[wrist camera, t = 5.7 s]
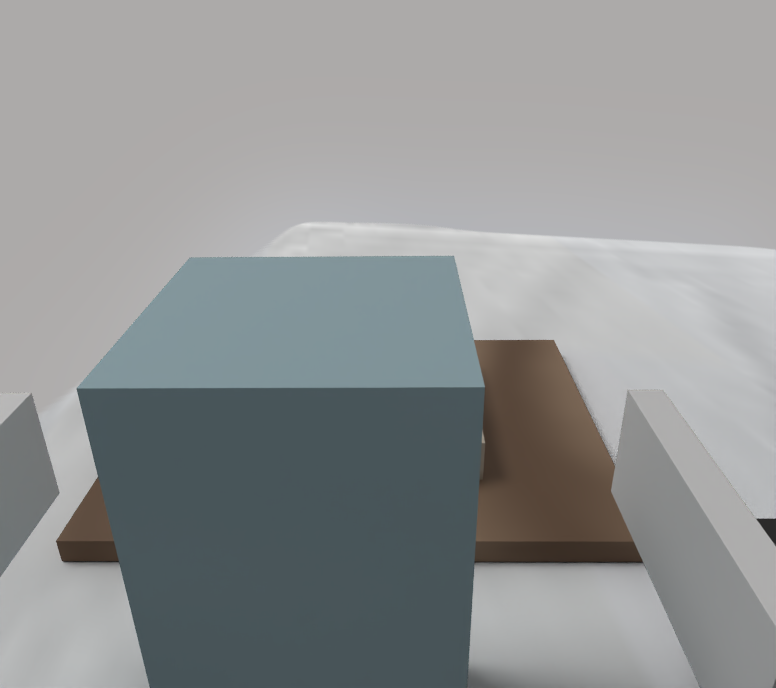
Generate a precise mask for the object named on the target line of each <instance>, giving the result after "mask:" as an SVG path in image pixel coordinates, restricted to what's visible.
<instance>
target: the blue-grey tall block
mask: <svg viewBox="0 0 776 688" xmlns="http://www.w3.org/2000/svg"><path fill="white" fill-rule="evenodd" d="M77 392H78V396H79V401H80V405H81V409H82V413H83V417H84V421H85V425H86V429H87V433H88V437H89V441H90V445H91V449H92V453H93V458H94V462H95V466H96V470H97V474H98V478H99V482H100V486H101V490H102V494H103V498H104V502H105V506H106V511H107V515H108V519H109V523H110V527H111V531H112V535H113V539H114V543H115V547H116V551H117V555H118V559H119V564H120V568H121V572H122V576H123V580H124V584H125V588H126V592H127V596H128V600H129V604H130V608H131V612H132V617H133V621H134V625H135V629H136V633H137V637H138V641H139V645H140V649H141V653H142V657H143V661H144V665H145V669H146V674H147V678H148V682H149V686H150V688H467V679H468V662H469V646H470V629H471V612H472V595H473V579H474V562H475V545H476V529H477V512H478V495H479V479H480V462H481V445H482V429H483V412H484V395H485V385H484V381H483V377H482V373H481V368H480V364H479V360H478V356H477V351H476V347H475V343H474V339H473V334H472V330H471V326H470V322H469V318H468V313H467V309H466V305H465V301H464V296H463V292H462V288H461V284H460V279H459V275H458V271H457V267H456V263H455V258H454V256H363V257H222V258H221V257H217V258H216V257H213V258H212V257H210V258H208V257H207V258H206V257H205V258H189V259H188V261H187V262H186V263H185V264H184V265H183V266H182V267H181V268H180V270H179V271H178V272H177V273H176V274H175V275H174V277H173V278H172V279H171V280H170V281H169V282H168V284H167V285H166V286H165V287H164V288H163V289H162V291H161V292H160V293H159V294H158V295H157V296H156V297H155V299H154V300H153V301H152V302H151V303H150V304H149V305H148V307H147V308H146V309H145V310H144V311H143V312H142V314H141V315H140V316H139V317H138V318H137V319H136V320H135V322H134V323H133V324H132V325H131V326H130V327H129V329H128V330H127V331H126V332H125V333H124V334H123V336H122V337H121V338H120V339H119V340H118V341H117V343H116V344H115V345H114V346H113V347H112V348H111V349H110V351H109V352H108V353H107V354H106V355H105V356H104V357H103V359H102V360H101V361H100V362H99V363H98V364H97V365H96V367H95V368H94V369H93V370H92V371H91V372H90V374H89V375H88V376H87V377H86V378H85V379H84V380H83V382H82V383H81V384H80V385H79V386H78V387H77Z"/></svg>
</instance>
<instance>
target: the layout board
mask: <svg viewBox="0 0 776 688" xmlns="http://www.w3.org/2000/svg"><path fill="white" fill-rule="evenodd" d="M474 343H475V347H476V351H477V356H478V360H479V364H480V368H481V373H482V377H483V381H484V385H485V395H484V412H483V429H482V445H481V462H480V479H479V495H478V512H477V529H476V545H475V562H643V561H642V558H641V556H640V554H639V552H638V550H637V547H636V545H635V543H634V541H633V539H632V536H631V534H630V532H629V530H628V528H627V525H626V523H625V521H624V519H623V517H622V514H621V512H620V510H619V508H618V506H617V503H616V501H615V499H614V497H613V495H612V492H611V488H612V482H613V476H614V470H615V465H614V463H613V461H612V459H611V457H610V455H609V453H608V451H607V449H606V447H605V445H604V443H603V441H602V439H601V436H600V434H599V432H598V430H597V428H596V426H595V424H594V422H593V420H592V418H591V416H590V414H589V412H588V410H587V408H586V406H585V403H584V401H583V399H582V397H581V395H580V393H579V391H578V389H577V387H576V385H575V383H574V381H573V379H572V377H571V375H570V372H569V370H568V368H567V366H566V364H565V362H564V360H563V358H562V356H561V354H560V352H559V350H558V348H557V346H556V344H555V342H554V340H474ZM56 542H57V546H58V549H59V553H60V556H61V559H62V561H119V559H118V555H117V551H116V547H115V543H114V539H113V535H112V531H111V527H110V523H109V519H108V515H107V511H106V506H105V502H104V498H103V494H102V490H101V486H100V482H99V478H97V479H96V481H95V482H94V484H93V485H92V487H91V488H90V490H89V491H88V493H87V495H86V496H85V498H84V499H83V501H82V502H81V504H80V505H79V507H78V508H77V510H76V511H75V513H74V514H73V516H72V518H71V519H70V521H69V522H68V524H67V525H66V527H65V528H64V530H63V531H62V533H61V534H60V536H59V537H58V539H57V541H56Z"/></svg>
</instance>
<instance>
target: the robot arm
mask: <svg viewBox="0 0 776 688" xmlns="http://www.w3.org/2000/svg"><path fill="white" fill-rule="evenodd" d="M611 492H612V495H613V497H614V499H615V501H616V503H617V506H618V508H619V510H620V512H621V514H622V517H623V519H624V521H625V523H626V525H627V528H628V530H629V532H630V534H631V536H632V539H633V541H634V543H635V545H636V547H637V550H638V552H639V554H640V556H641V558H642V561H643V563H644V565H645V567H646V569H647V572H648V574H649V576H650V578H651V580H652V583H653V585H654V587H655V589H656V591H657V593H658V596H659V598H660V600H661V602H662V604H663V607H664V609H665V611H666V613H667V615H668V618H669V620H670V622H671V624H672V626H673V629H674V631H675V633H676V635H677V637H678V640H679V642H680V644H681V646H682V648H683V651H684V653H685V655H686V657H687V659H688V662H689V664H690V666H691V668H692V670H693V673H694V675H695V677H696V679H697V681H698V684H699V686H700V688H776V519H756V518H755V517H754V515H753V514H752V513H751V511H750V510H749V508H748V507H747V506H746V504H745V503H744V501H743V500H742V499H741V497H740V496H739V494H738V493H737V492H736V490H735V489H734V488H733V486H732V485H731V483H730V482H729V481H728V479H727V478H726V476H725V475H724V474H723V472H722V471H721V469H720V468H719V467H718V465H717V464H716V463H715V461H714V460H713V458H712V457H711V456H710V454H709V453H708V451H707V450H706V449H705V447H704V446H703V444H702V443H701V442H700V440H699V439H698V438H697V436H696V435H695V433H694V432H693V431H692V429H691V428H690V426H689V425H688V424H687V422H686V421H685V419H684V418H683V417H682V415H681V414H680V413H679V411H678V410H677V408H676V407H675V406H674V404H673V403H672V401H671V400H670V399H669V397H668V396H667V394H666V393H665V392H664V390H628V392H627V398H626V404H625V410H624V416H623V422H622V428H621V434H620V440H619V446H618V452H617V458H616V464H615V470H614V476H613V482H612V488H611ZM58 494H59V489H58V486H57V482H56V478H55V475H54V471H53V468H52V464H51V461H50V457H49V454H48V450H47V446H46V443H45V439H44V436H43V432H42V429H41V425H40V421H39V418H38V414H37V411H36V408H35V404H34V400H33V397H32V393H0V577H1V575H2V574H3V572H4V571H5V570H6V568H7V567H8V565H9V564H10V562H11V561H12V560H13V558H14V557H15V555H16V554H17V553H18V551H19V550H20V548H21V547H22V545H23V544H24V543H25V541H26V540H27V538H28V537H29V536H30V534H31V533H32V531H33V530H34V528H35V527H36V526H37V524H38V523H39V521H40V520H41V519H42V517H43V516H44V514H45V513H46V511H47V510H48V509H49V507H50V506H51V504H52V503H53V502H54V500H55V499H56V497H57V496H58Z"/></svg>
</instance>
